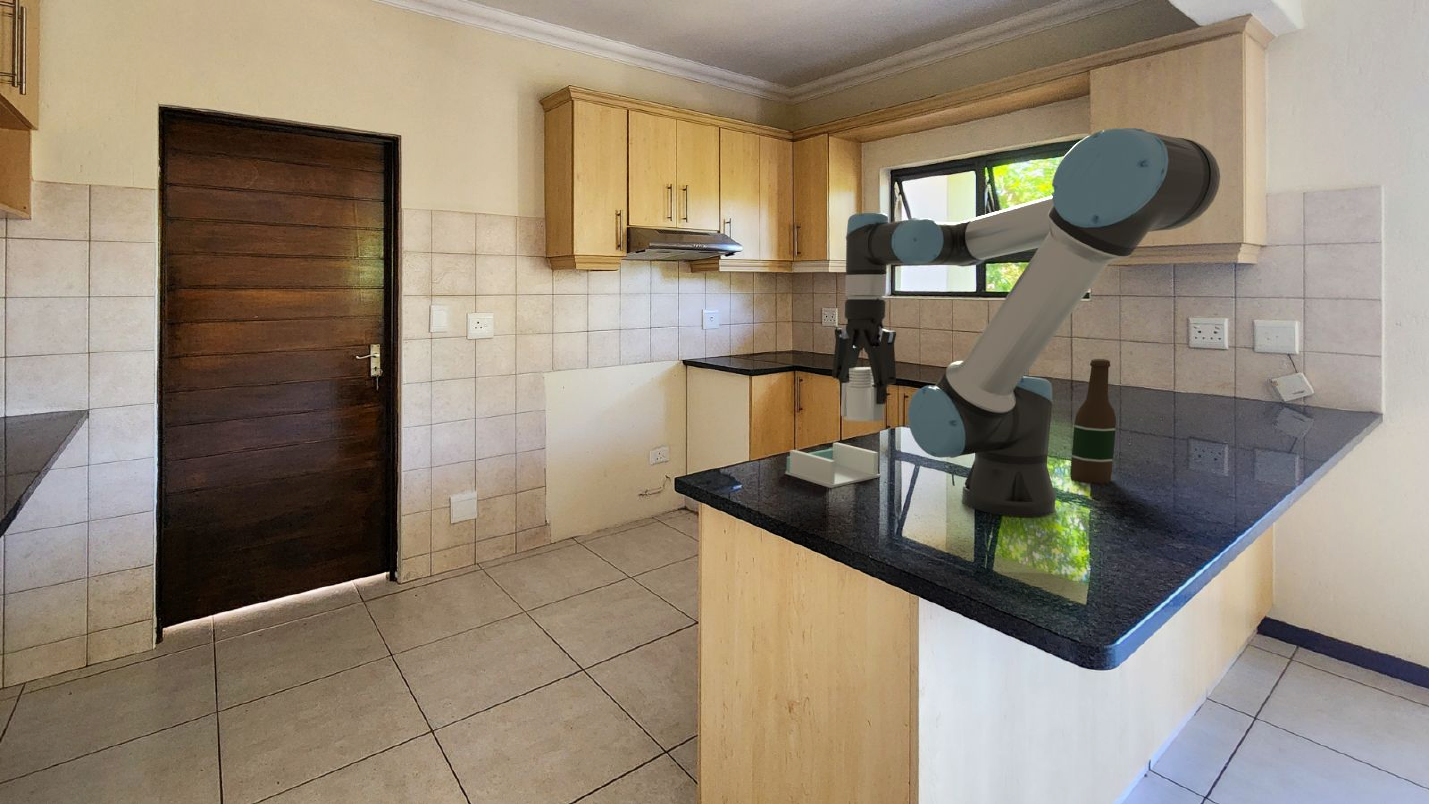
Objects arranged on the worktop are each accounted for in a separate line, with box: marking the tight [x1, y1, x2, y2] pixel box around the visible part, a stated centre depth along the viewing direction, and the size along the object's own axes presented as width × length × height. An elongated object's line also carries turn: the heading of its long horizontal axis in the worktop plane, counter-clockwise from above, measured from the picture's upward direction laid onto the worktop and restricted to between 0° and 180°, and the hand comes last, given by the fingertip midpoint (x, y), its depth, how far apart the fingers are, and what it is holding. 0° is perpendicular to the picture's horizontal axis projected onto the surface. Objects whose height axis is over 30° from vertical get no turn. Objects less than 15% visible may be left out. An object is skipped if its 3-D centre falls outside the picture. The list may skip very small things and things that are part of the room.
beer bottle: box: [1069, 358, 1117, 485], centre depth 139 cm, size 8×8×24 cm
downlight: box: [840, 366, 875, 422], centre depth 136 cm, size 8×7×10 cm
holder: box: [784, 442, 881, 489], centre depth 143 cm, size 13×14×5 cm
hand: (861, 417), depth 137 cm, fingers closed on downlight, 7 cm apart
